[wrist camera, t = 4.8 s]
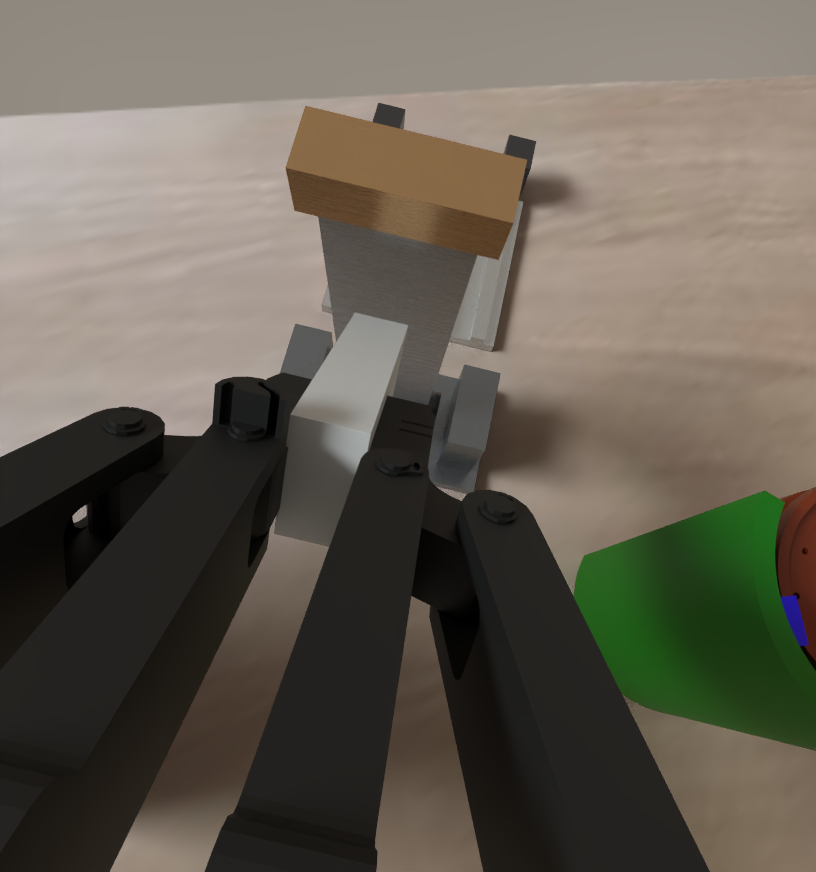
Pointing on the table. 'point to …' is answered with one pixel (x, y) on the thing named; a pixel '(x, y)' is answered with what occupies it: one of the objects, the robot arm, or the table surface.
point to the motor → (715, 616)
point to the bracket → (475, 326)
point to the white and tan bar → (401, 227)
